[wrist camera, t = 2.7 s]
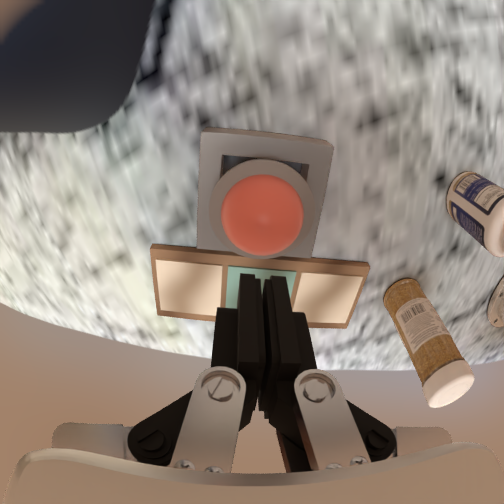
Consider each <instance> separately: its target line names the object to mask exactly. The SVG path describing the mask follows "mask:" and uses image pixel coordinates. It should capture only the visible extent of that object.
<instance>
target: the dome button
mask: <svg viewBox="0 0 504 504" xmlns="http://www.w3.org/2000/svg"><path fill="white" fill-rule="evenodd" d="M314 218H315V202H314V198H313V194H312V192H311V190H310V188H309V186H308V184H307V183H306V181H305V180H304V178H303V177H302V176H301V175H300V174H299V173H298V172H297V171H296V170H295V169H293V168H292V167H290V166H288V165H286V164H284V163H282V162H279V161H276V160H270V159H254V160H249V161H245V162H243V163H240V164H238V165H236V166H234V167H232V168H231V169H230V170H228V171H227V172H226V173H225V174H224V175H223V176H222V177H221V178H220V179H219V181H218V182H217V184H216V186H215V188H214V190H213V192H212V195H211V198H210V202H209V219H210V224H211V227H212V229H213V231H214V233H215V235H216V236H217V238H218V239H219V240H220V241H221V243H222V244H223V245H225V246H226V247H227V248H228V249H230V250H231V251H233V252H235V253H237V254H239V255H241V256H244V257H248V258H253V259H270V258H275V257H279V256H282V255H284V254H286V253H288V252H290V251H292V250H293V249H295V248H296V247H297V246H299V245H300V244H301V243H302V242H303V241H304V239H305V238H306V237H307V235H308V234H309V232H310V230H311V228H312V226H313V222H314Z"/></svg>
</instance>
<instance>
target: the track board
mask: <svg viewBox="0 0 504 504" xmlns="http://www.w3.org/2000/svg"><path fill="white" fill-rule="evenodd" d="M150 254H151V264H152V274H153V283H154V292H155V300H156V308H157V315H160V316H168V317H176V318H185V319H194V320H204V321H214V322H215V321H216V311H217V307H223V308H236V309H237V300H238V289H239V279H240V273H245V274H255V278H259V279H261V291H262V292H263V286H264V280H265V279H270V276H271V275H273V276H285V277H286V279H287V284H288V290H289V295H290V301H291V306H292V312H304V313H305V315H306V319H307V323H308V328H342V329H346V328H347V326H348V324H349V321H350V319H351V316H352V314H353V312H354V309H355V307H356V304H357V302H358V299H359V296H360V294H361V291H362V289H363V286H364V283H365V281H366V278H367V275H368V272H369V270H370V266H369V264H368V263H365V262H354V261H342V260H331V259H319V258H299V257H288V256H279V257H275V258H270V259H253V258H248V257H244V256H241V255H239V254H237V253H235V252H230V251H219V250H207V249H197V248H193V247H182V246H170V245H159V244H152V246H151V248H150Z"/></svg>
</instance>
